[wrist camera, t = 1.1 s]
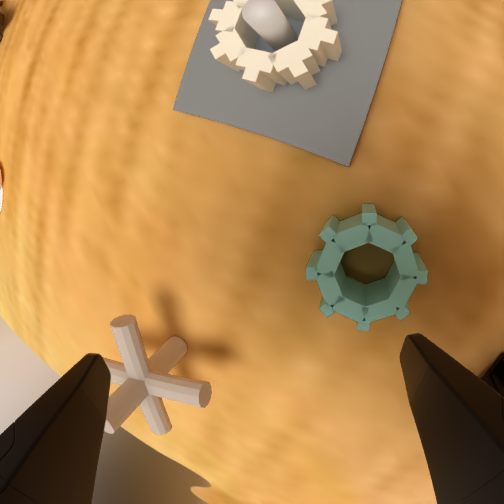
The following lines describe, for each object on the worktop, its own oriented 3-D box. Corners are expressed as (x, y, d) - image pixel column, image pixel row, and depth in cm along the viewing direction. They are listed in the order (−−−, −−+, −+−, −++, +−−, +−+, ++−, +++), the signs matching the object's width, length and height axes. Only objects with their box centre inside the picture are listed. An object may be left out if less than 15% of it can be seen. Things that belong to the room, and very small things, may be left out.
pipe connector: (146, 380, 28) (83, 445, 19) (118, 287, 25) (29, 342, 16) (241, 400, 25) (188, 491, 16) (224, 293, 22) (138, 381, 13)
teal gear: (433, 231, 16) (446, 246, 13) (388, 318, 19) (390, 344, 16) (338, 188, 17) (334, 195, 15) (301, 280, 20) (290, 301, 17)
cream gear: (355, 10, 13) (353, -14, 10) (322, 108, 15) (315, 99, 12) (249, -11, 14) (230, -33, 11) (216, 78, 16) (191, 68, 14)
